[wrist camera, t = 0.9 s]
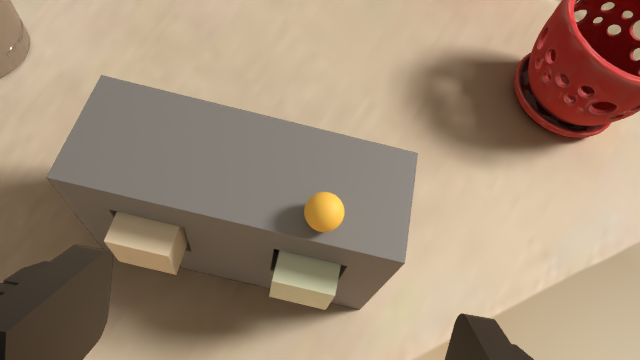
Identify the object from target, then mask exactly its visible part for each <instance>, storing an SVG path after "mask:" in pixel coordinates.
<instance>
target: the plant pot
mask: <svg viewBox="0 0 640 360" xmlns="http://www.w3.org/2000/svg"><path fill="white" fill-rule="evenodd" d="M577 1H578V0H562V1H561V3H560V4H559V5H558V7H557V8H556V10H555V11H554V13H553V14H552V16H551V17H550V18H549V20H548V21H547V22H546V24H545V25H544V27H543V29H542V30H541V32H540V34H539V36H538V38H537V40H536V42H535V44H534V47H533V49H532V52H531V53H529V54H528V55H526V56H525V57H524V58H523V59H522V60H521V62H520V63H519V65H518V67H517V69H516V72H515V77H514V86H515V92H516V95H517V98H518V100H519V102H520V104H521V106H522V107H523V109H524V110H525V111H526V113H527V114H528V115H529V116H530V117H531V118H532V119H533V120H534V121H536V122H537V123H538V124H540V125H541V126H542V127H544V128H546V129H547V130H550V131H552V132H554V133H557V134H559V135H563V136H567V137H578V138H580V137H581V138H582V137H589V136H593V135H596V134H599V133H601V132H602V131H604V130H605V129H606V128H607V127H608V126H609V125H610V124H611V123H612V122H615V121H618V120H621V119H624V118H626V117H629V116H631V115H633V114H635V113H636V112H638V111H640V60H638V61H636V60H634V58H633V52H634V50H635V49H637V48H640V40H639V39H638V38H636V37H635V36H634V34H633V25H634V24H635V23H636V22H637V21H638V20H640V0H580V1H579V2H578V3H576V2H577ZM607 2H613V3H614V4H615V6H614V7H613V8H612V9H610V10H602V9H601V6H602V5H603V4H605V3H607ZM575 3H576V4H575ZM579 10H587V14H586V16H585V17H584V18H583V19H582V20H581V21H579V22H576V21H575V17H574V12H576V11H579ZM624 11H631V12H632V13H633V16H632V17H631V18H625V17H623V12H624ZM597 17H602V18H603V20H602V22H600V23H593V20H594V19H595V18H597ZM613 24H615V25H619V26H620V27H621V32H620V33H619V34H616V35H612V34H610V33H609V32H608V30H607V29H608V27H609V26H611V25H613Z"/></svg>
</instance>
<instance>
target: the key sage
mask: <svg viewBox="0 0 640 360" xmlns="http://www.w3.org/2000/svg"><path fill="white" fill-rule="evenodd" d="M340 267H341V265H340V264H336V263H332V262H327V261H323V260H319V259H315V258H311V257H306V256H302V255H298V254H294V253H290V252H285V251H281V250H280V251H279V255H278V259H277V263H276V267H275V271H274V275H273V279H272V283H271V289H270V294H269V297H273V298H277V299H281V300H285V301H290V302H294V303H298V304H302V305H307V306H311V307H315V308H319V309H324V310H326V309H327V307H328V306H329V304H330V303H331V301H332V300H333V298H334V297H335V294H336V289H337V283H338V278H339V273H340Z"/></svg>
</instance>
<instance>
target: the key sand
mask: <svg viewBox="0 0 640 360" xmlns="http://www.w3.org/2000/svg"><path fill="white" fill-rule="evenodd" d="M104 242H105V244H106V245H107V246H108V248H109V249H110V250H111V252H112V253H113V254H114V256H115V257H116V258H117V260H118V261H119V262H124V263H128V264H132V265H136V266H141V267H145V268H149V269H153V270H158V271H162V272H166V273H170V274H175V275H177V272H178V269H179V266H180V264H181V261H182V258H183V255H184V252H185V249H186V247H187V244H188V239H187V236H186V232H185V229H184V227H180V226H176V225H172V224H168V223H164V222H159V221H155V220H151V219H147V218H143V217H138V216H134V215H130V214H126V213H122V212H116V215H115V217H114V219H113V221H112V224H111V226H110V228H109V230H108V233H107V235H106V237H105V239H104Z"/></svg>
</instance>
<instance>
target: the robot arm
mask: <svg viewBox="0 0 640 360" xmlns="http://www.w3.org/2000/svg"><path fill="white" fill-rule="evenodd" d="M29 46H30V38H29V35H28V32H27V30H26V28H25V26H24V24H23V22H22V21H21V19H20V17H19V15H18V13H17V12H16V10H15V8H14V6H13V4H12V2H11V0H0V78H1V77H2V76H4V75H6V74H8V73H10V72H11V71H12V70H14V69H15V68H16V67H18V66H19V64H20V63H21V62H22V61H23V60H24V58H25V57H26V55H27V53H28V50H29ZM112 266H113V256H112V253H111V251H109V250H104V249H98V248H93V247H87V246H81V245H74V246H72V247H71V248H69V249H68V250H66V251H65V252H63V253H62V254H61V255H59V256H58V257H56V258H55V259H53V260H52V261H50V262H47V261H45V262H41V263H38V264H35V265H32V266H29V267H26V268H23V269H21V270H19V271H18V272H16V273H15V274H13V275H11V276H10V277H8V278H7V279H5V280H4V282H3V283H0V360H83V359H84V357H85V356H86V355H87V354H88V353H89V351H90V350H91V349H92V348H93V347H94V346H95V344H96V343H97V342H98V340H99V339H100V337H101V335H102V333H103V331H104V328H105V325H106V322H107V317H108V310H109V299H110V288H111V277H112ZM445 360H534V359H533V358H531V357H530V356H529V355H528V354H526V353H525V352H524V351H523V350H522V349H520V348H519V347H518V346H517V345H514V344H511V343H510V342H509V340H508V338H507V337H506V335H505V334H504V333H503V331H502V329H501V328H500V326H499V325H498V324H497V322H496V321H495V320H494V319H490V318H484V317H479V316H473V315H467V314H460V315H459V316H458V317H457V319H456V321H455V324H454V328H453V332H452V335H451V339H450V343H449V346H448V350H447V354H446V357H445Z"/></svg>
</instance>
